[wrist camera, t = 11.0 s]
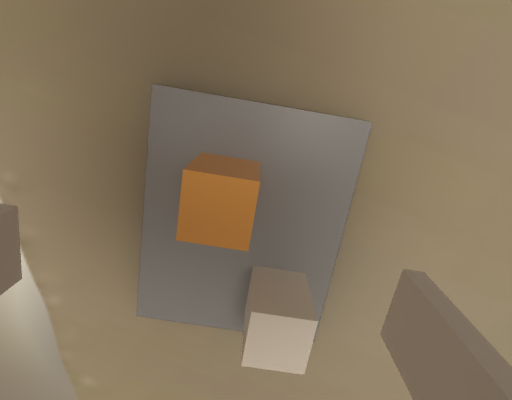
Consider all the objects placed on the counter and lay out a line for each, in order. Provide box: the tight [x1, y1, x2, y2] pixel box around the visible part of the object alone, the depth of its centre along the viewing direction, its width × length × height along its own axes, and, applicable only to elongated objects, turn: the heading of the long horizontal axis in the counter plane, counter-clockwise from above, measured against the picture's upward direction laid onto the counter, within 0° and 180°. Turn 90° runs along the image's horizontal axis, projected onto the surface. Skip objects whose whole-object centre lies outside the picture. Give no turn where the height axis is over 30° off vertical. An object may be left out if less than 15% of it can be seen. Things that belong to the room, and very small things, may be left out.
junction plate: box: [136, 84, 372, 375], centre depth 27 cm, size 22×18×8 cm
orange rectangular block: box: [176, 152, 260, 251], centre depth 25 cm, size 5×5×7 cm
